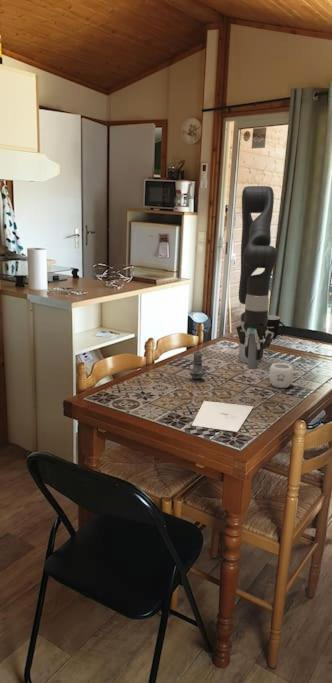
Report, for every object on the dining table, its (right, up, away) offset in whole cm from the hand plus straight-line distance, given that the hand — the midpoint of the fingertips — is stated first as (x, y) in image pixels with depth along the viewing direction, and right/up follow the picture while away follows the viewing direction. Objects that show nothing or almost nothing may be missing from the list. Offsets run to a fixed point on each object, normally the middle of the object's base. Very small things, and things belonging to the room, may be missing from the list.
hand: (253, 358), depth 179 cm
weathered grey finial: (-17, -9, +23) cm, 30 cm away
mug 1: (+23, +7, +84) cm, 88 cm away
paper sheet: (-17, -18, -6) cm, 25 cm away
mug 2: (+15, -11, +19) cm, 26 cm away
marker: (0, -3, +1) cm, 3 cm away
